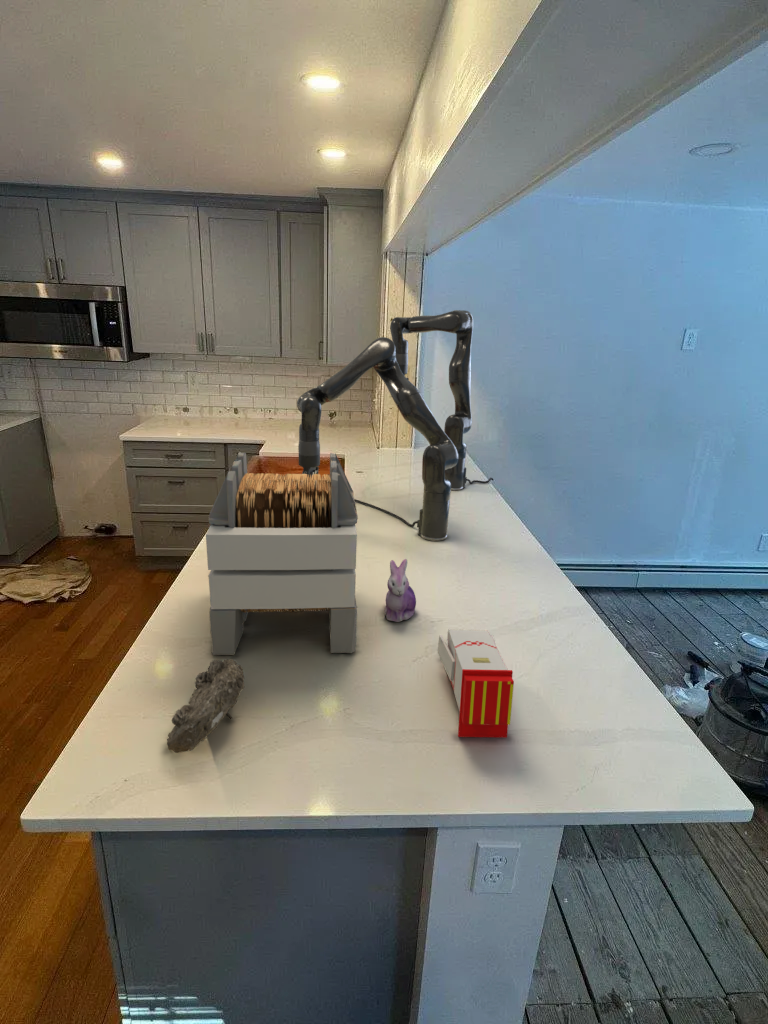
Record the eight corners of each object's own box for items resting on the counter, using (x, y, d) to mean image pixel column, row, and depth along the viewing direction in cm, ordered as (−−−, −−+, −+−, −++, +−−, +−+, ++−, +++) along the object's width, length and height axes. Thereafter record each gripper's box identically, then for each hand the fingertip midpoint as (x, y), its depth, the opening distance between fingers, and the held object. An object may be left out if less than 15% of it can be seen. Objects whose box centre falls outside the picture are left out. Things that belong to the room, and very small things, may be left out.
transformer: (231, 586, 157) (223, 443, 144) (349, 585, 161) (352, 445, 147) (209, 657, 126) (197, 482, 112) (356, 653, 129) (362, 483, 116)
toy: (488, 613, 130) (523, 677, 101) (484, 667, 133) (517, 744, 104) (435, 612, 130) (455, 676, 101) (432, 666, 133) (451, 743, 103)
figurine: (392, 627, 141) (395, 572, 136) (374, 608, 149) (376, 556, 144) (425, 619, 145) (429, 566, 140) (405, 601, 154) (408, 550, 149)
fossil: (192, 660, 117) (244, 628, 112) (224, 691, 120) (276, 661, 115) (142, 746, 98) (202, 712, 93) (182, 779, 101) (242, 748, 96)
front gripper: (306, 447, 206) (306, 491, 212) (291, 456, 193) (292, 503, 199) (325, 448, 205) (325, 493, 211) (312, 458, 192) (312, 505, 198)
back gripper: (385, 361, 264) (383, 396, 270) (400, 364, 252) (398, 401, 258) (399, 361, 268) (397, 396, 273) (414, 364, 256) (412, 400, 261)
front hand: (309, 498), depth 205 cm, fingers closed on canister, 5 cm apart
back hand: (397, 398), depth 266 cm, fingers open, 8 cm apart
